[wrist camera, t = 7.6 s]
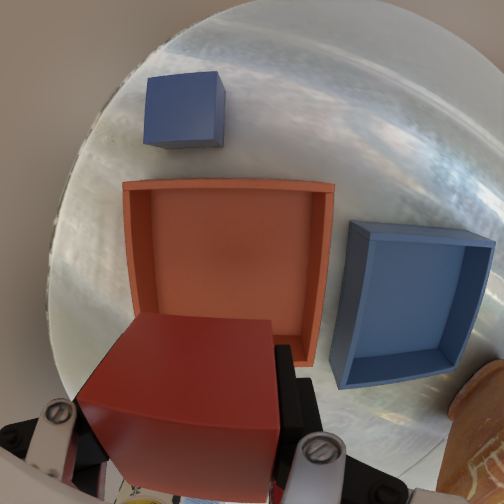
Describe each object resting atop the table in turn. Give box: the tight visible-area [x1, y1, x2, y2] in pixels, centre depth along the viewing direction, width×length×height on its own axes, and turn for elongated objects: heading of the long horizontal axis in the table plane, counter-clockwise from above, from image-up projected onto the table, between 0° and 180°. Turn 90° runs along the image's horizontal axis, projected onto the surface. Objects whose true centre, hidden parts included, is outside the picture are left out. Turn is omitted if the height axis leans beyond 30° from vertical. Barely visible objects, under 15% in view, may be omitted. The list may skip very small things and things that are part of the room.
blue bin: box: [329, 221, 496, 390], centre depth 22 cm, size 14×14×5 cm
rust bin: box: [122, 178, 335, 367], centre depth 21 cm, size 14×14×5 cm
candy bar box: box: [114, 479, 225, 504], centre depth 20 cm, size 11×5×16 cm, turn 133°
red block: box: [77, 312, 280, 503], centre depth 8 cm, size 5×5×5 cm
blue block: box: [143, 71, 226, 149], centre depth 18 cm, size 5×5×5 cm
